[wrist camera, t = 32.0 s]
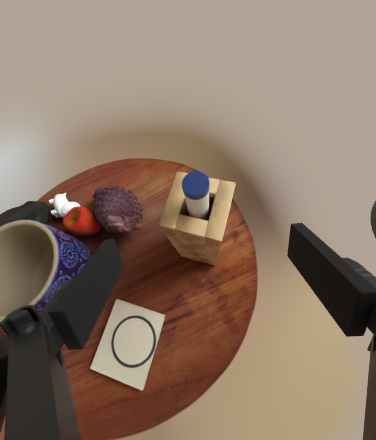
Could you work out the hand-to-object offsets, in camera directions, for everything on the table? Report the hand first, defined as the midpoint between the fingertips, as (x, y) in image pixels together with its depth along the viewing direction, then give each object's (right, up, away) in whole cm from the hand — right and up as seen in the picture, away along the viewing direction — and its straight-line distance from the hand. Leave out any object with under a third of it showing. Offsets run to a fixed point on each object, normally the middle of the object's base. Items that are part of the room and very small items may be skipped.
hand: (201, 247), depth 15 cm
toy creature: (-35, +5, +35) cm, 49 cm away
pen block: (+2, -3, +31) cm, 31 cm away
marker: (+1, +1, +18) cm, 18 cm away
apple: (-24, 0, +34) cm, 42 cm away
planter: (-28, -11, +31) cm, 43 cm away
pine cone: (-17, +3, +35) cm, 39 cm away
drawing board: (-13, -22, +25) cm, 36 cm away
